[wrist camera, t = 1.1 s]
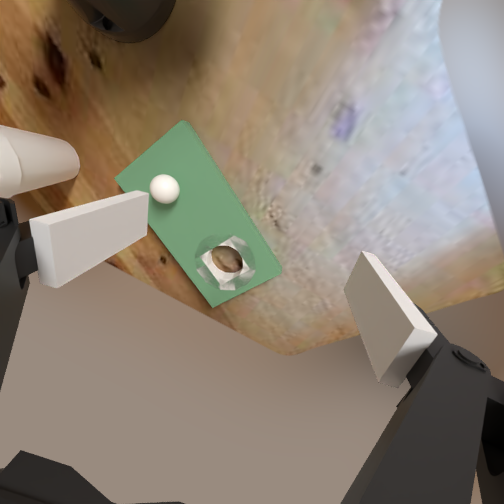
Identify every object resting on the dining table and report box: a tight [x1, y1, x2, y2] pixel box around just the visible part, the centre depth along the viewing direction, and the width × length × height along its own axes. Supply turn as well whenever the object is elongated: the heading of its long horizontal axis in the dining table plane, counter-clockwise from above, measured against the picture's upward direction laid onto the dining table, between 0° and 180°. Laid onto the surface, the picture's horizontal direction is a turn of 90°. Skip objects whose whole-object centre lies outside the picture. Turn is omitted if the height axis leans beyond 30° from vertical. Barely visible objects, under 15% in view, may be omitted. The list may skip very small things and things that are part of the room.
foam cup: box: [0, 125, 80, 198], centre depth 34 cm, size 10×9×13 cm
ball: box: [150, 174, 180, 204], centre depth 34 cm, size 4×4×4 cm
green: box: [114, 120, 282, 308], centre depth 39 cm, size 26×14×2 cm, turn 33°
